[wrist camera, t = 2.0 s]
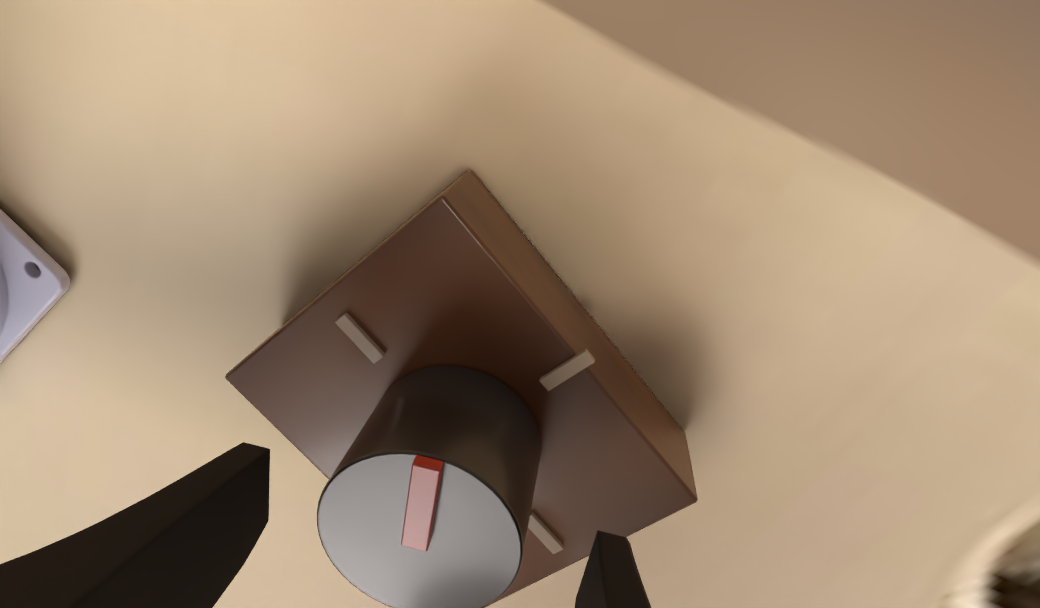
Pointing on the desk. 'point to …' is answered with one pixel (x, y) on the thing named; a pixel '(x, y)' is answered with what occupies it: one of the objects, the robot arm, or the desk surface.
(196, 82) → the desk surface
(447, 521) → the dimmer knob
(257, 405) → the dimmer
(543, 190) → the desk surface
